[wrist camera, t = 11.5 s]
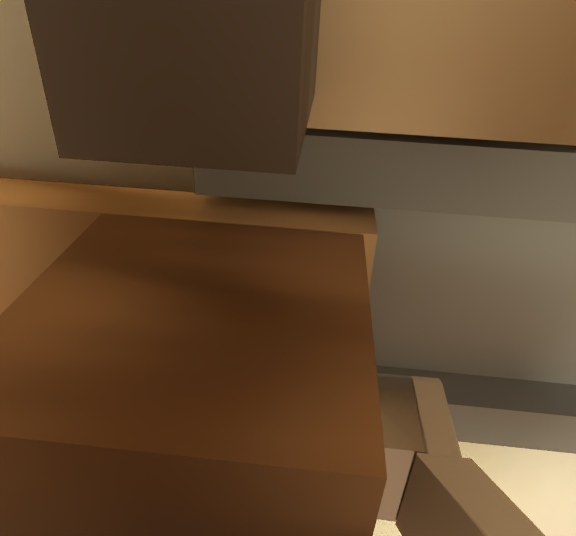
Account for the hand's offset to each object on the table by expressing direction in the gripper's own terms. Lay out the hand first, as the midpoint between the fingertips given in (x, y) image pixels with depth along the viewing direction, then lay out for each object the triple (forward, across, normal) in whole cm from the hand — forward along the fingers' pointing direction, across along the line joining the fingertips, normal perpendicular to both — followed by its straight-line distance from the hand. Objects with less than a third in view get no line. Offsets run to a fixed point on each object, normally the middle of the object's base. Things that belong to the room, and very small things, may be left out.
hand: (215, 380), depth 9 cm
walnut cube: (+2, 0, 0) cm, 2 cm away
